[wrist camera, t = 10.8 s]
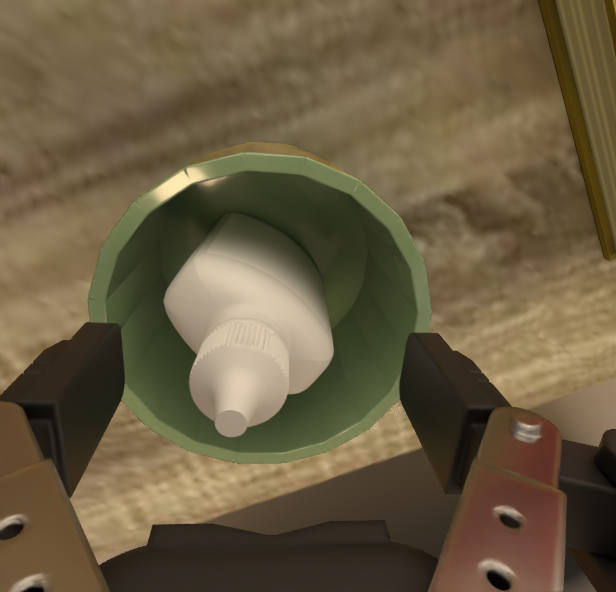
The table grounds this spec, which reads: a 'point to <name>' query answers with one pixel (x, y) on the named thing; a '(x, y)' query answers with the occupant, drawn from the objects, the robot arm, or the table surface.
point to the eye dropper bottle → (249, 321)
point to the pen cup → (326, 258)
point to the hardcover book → (589, 97)
